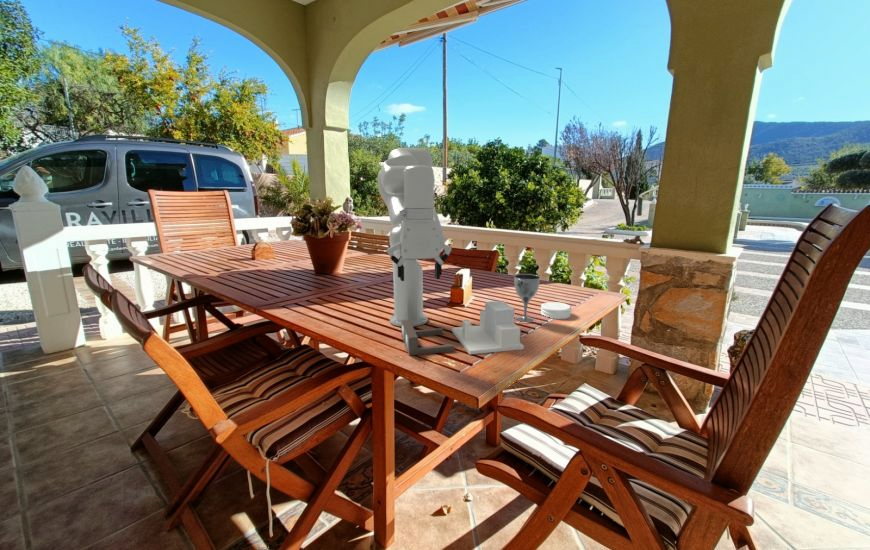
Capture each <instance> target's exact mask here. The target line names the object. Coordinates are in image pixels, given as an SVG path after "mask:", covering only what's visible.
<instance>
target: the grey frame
mask: <svg viewBox="0 0 870 550" xmlns="http://www.w3.org/2000/svg"><path fill="white" fill-rule="evenodd" d="M400 327H401V328H400V329H401V338H402V341H403V343H404V345H405V348H406V351H407V353H408V356H409V357H410V356H417V355H420V356H421V355H427V354H428V355H429V354H440V353H450V352H455V345H454V344H443V345H429V346H421V347H419V337H424V336H425V337H426V336H438V335H443V334H444V329H443V328H442V327H440V328H428V329H417V330H415V328H414V327H413V326H412V324H411V322H410V320H401V326H400Z"/></svg>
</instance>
